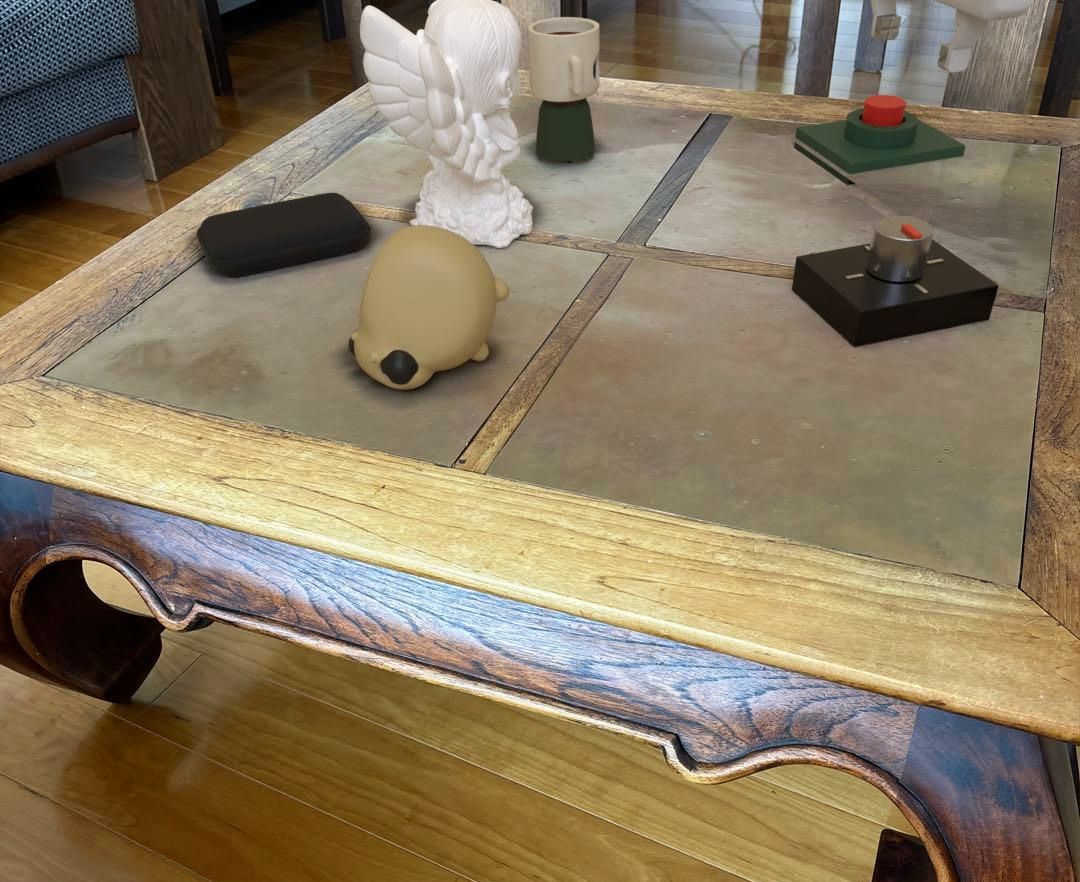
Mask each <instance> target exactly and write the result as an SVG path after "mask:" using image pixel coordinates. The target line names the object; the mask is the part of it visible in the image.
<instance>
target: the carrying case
mask: <svg viewBox="0 0 1080 882" xmlns="http://www.w3.org/2000/svg"><path fill="white" fill-rule="evenodd" d="M372 231H373V229H372V226H371V225H370V224H369V223H368V221H367V220H366V219H365V218H364V217H363V215H362V214H361V212H359V210H358V209H357V208H356V206H355V205H354V204H353V202H352V201H350V200H349V199H347V198H346V197H345V196H344V195H342V194H341V193H338V192H324V193H318V194H314V195H308V196H302V197H297V198H292V199H287V200H282V201H277V202H272V203H266V204H262V205H261V204H260V205H256V206H251V207H247V208H241V209H237V210H236V209H235V210H231V211H227V212H222V213H216V214H213V215H210V216H207V217H206V218H204V220H202V222H201V224H200V226H199V227H198V229H197V231H196V234H195V235H196V240H197V242H198V244H199V246H200V249H201V250H202V253H203V255H204V257H205V260H206V261H207V263H208V265H209V267H211V269H213V270H215V271H217V272H218V273H219V274H221V275H222V276H225V277H231V278H232V277H234V278H235V277H242V276H247V275H251V274H257V273H261V272H265V271H270V270H276V269H280V268H285V267H290V266H294V265H300V264H304V263H309V262H313V261H318V260H323V259H327V258H331V257H336V256H341V255H345V254H349V253H354V252H356V251H359V250H361V249H362V248H364V247H365V246H366V244H367V242H368V241H369V240H370V238H371V237H372V233H373V232H372Z"/></svg>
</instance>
